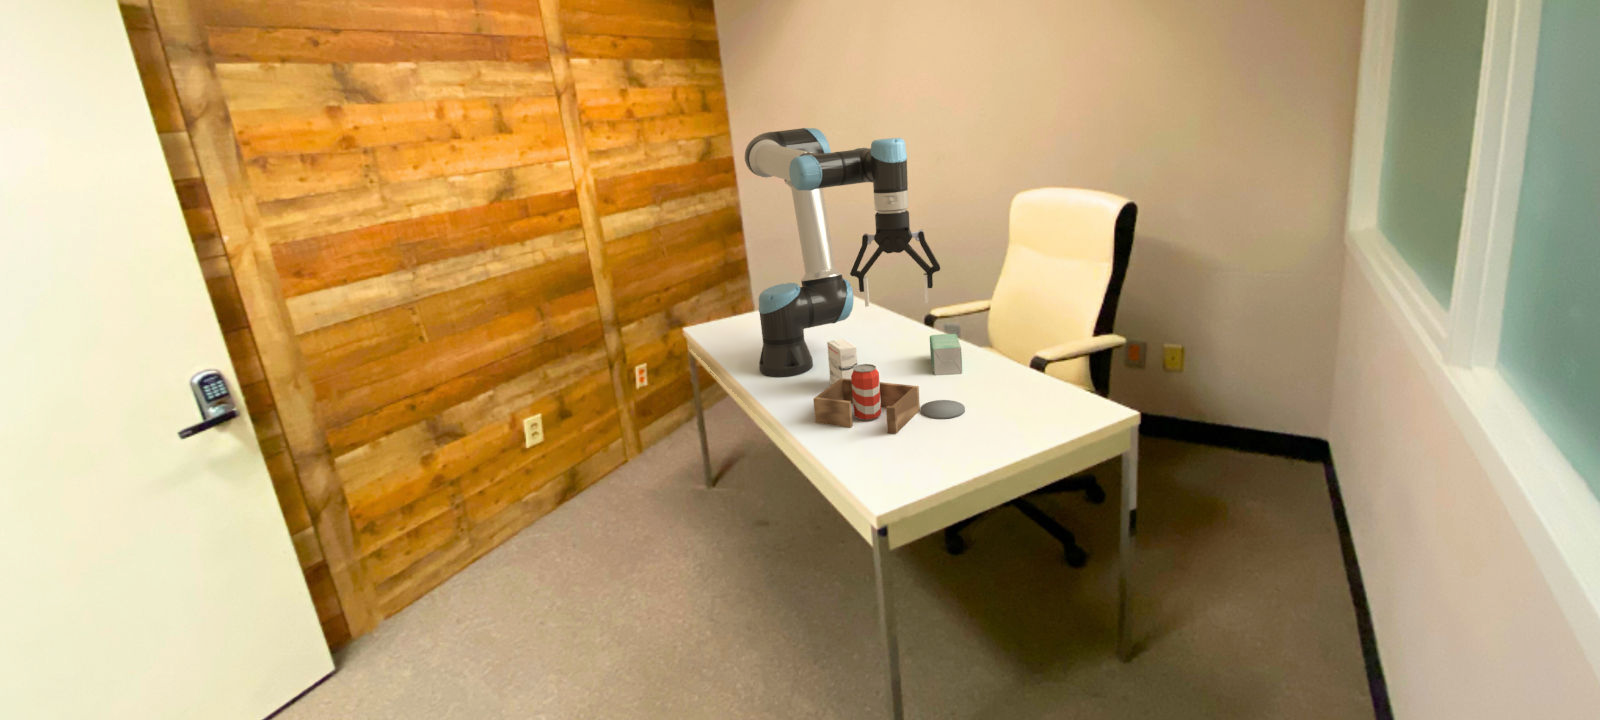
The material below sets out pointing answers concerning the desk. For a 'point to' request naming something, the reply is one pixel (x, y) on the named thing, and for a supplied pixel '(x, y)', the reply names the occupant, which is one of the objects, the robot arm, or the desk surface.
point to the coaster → (942, 409)
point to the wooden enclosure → (894, 397)
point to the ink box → (841, 359)
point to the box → (946, 354)
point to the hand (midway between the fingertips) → (896, 303)
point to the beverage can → (866, 392)
